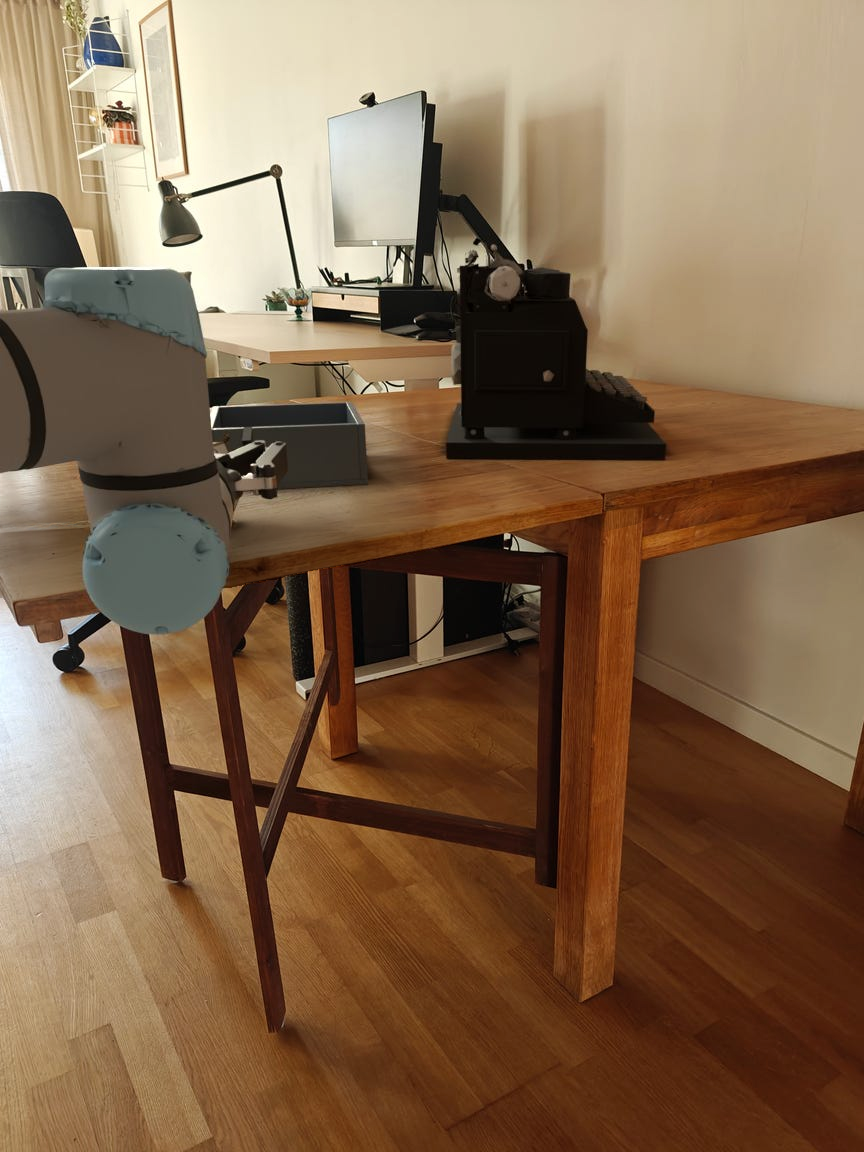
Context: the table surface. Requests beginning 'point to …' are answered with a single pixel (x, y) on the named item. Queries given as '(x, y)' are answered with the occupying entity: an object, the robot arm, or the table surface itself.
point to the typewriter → (536, 375)
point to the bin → (303, 439)
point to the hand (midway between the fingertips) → (200, 443)
